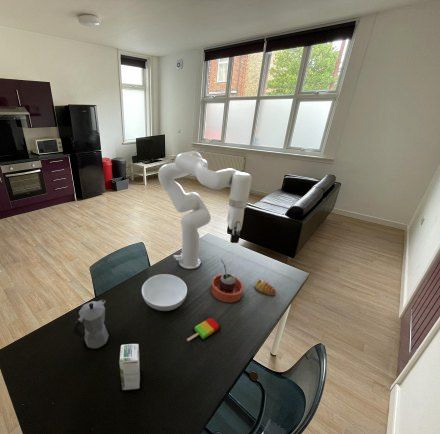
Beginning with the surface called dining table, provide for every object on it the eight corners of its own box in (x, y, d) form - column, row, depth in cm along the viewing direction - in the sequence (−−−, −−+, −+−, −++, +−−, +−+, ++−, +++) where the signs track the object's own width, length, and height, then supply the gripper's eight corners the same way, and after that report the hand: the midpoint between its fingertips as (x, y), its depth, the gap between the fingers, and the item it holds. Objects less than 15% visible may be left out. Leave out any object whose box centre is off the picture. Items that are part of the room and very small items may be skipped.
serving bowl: (137, 290, 118) (137, 279, 115) (177, 281, 124) (177, 270, 121) (148, 322, 100) (148, 310, 97) (194, 310, 106) (194, 299, 103)
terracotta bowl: (213, 302, 111) (214, 294, 108) (209, 281, 124) (210, 273, 122) (245, 303, 110) (246, 295, 108) (237, 282, 123) (239, 274, 121)
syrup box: (123, 372, 82) (119, 344, 75) (140, 371, 82) (138, 342, 76) (122, 390, 77) (118, 361, 70) (140, 389, 77) (138, 360, 71)
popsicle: (220, 328, 98) (220, 325, 97) (191, 347, 90) (191, 344, 89) (210, 319, 102) (211, 316, 101) (182, 336, 94) (182, 333, 94)
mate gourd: (233, 296, 113) (237, 271, 107) (216, 293, 115) (219, 268, 109) (233, 286, 120) (237, 261, 113) (217, 283, 122) (220, 259, 115)
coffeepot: (100, 321, 101) (95, 288, 93) (117, 331, 96) (113, 298, 89) (70, 350, 89) (61, 315, 82) (87, 363, 85) (80, 327, 77)
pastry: (277, 291, 117) (278, 285, 115) (271, 298, 113) (273, 292, 111) (258, 282, 123) (260, 276, 121) (252, 288, 119) (254, 282, 117)
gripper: (226, 194, 109) (221, 227, 117) (232, 210, 94) (227, 246, 101) (242, 195, 109) (237, 228, 116) (252, 211, 93) (245, 247, 101)
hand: (232, 236), depth 109 cm, fingers open, 9 cm apart
